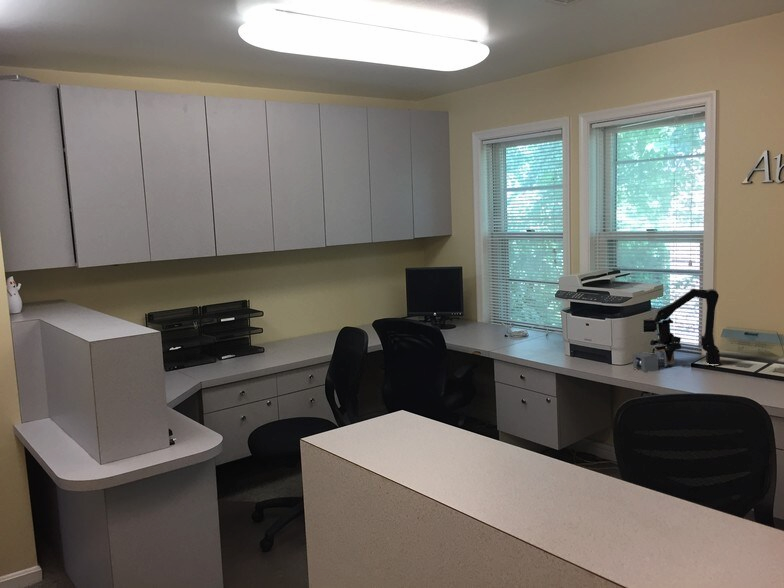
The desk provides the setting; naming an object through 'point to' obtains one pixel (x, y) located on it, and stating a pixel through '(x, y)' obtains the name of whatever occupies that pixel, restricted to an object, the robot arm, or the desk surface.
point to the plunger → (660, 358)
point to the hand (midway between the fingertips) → (666, 360)
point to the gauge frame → (645, 361)
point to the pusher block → (667, 359)
